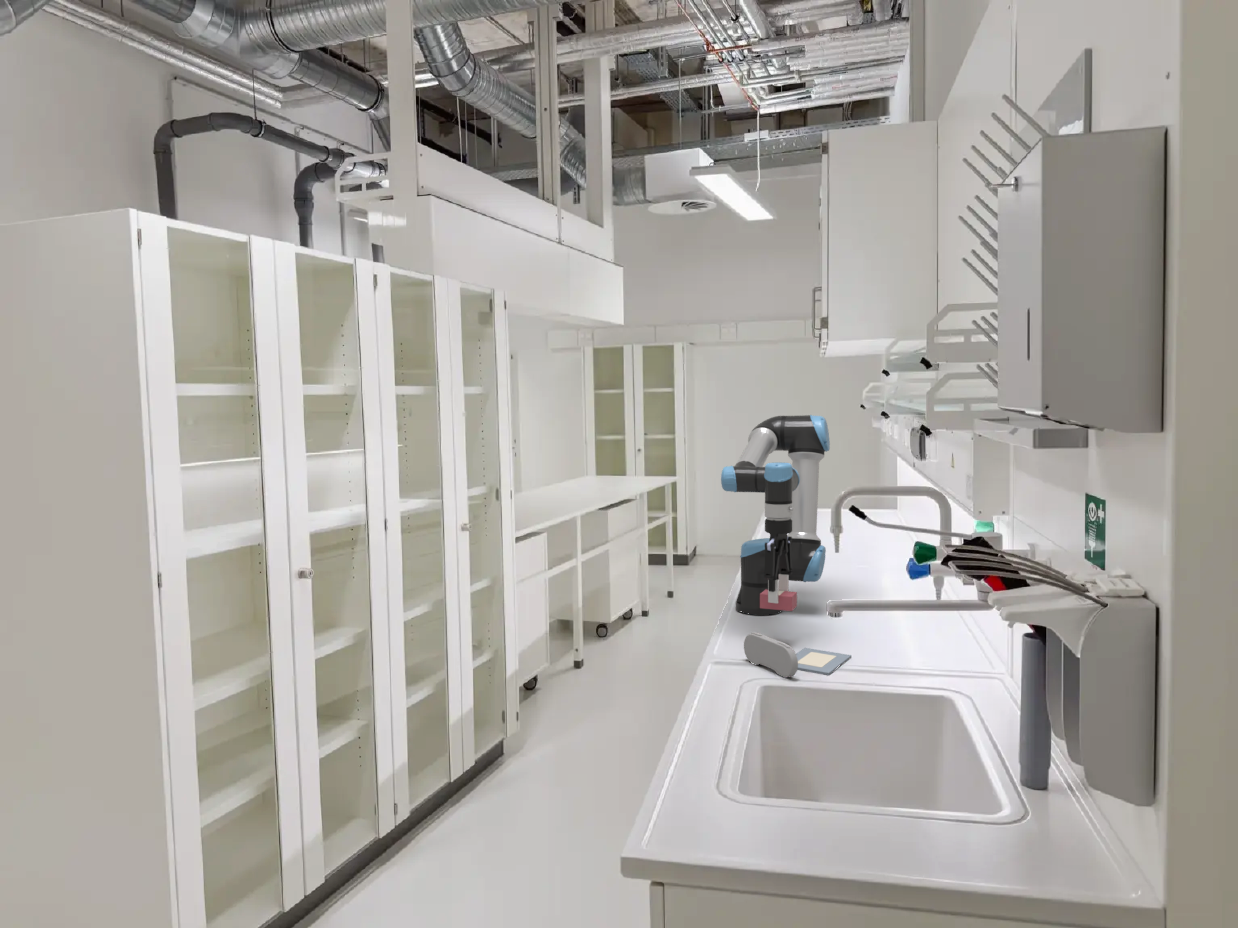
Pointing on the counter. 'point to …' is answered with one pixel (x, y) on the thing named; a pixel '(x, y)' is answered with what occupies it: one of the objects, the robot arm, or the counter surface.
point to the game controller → (771, 654)
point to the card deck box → (779, 601)
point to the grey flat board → (820, 660)
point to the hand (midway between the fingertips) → (778, 599)
